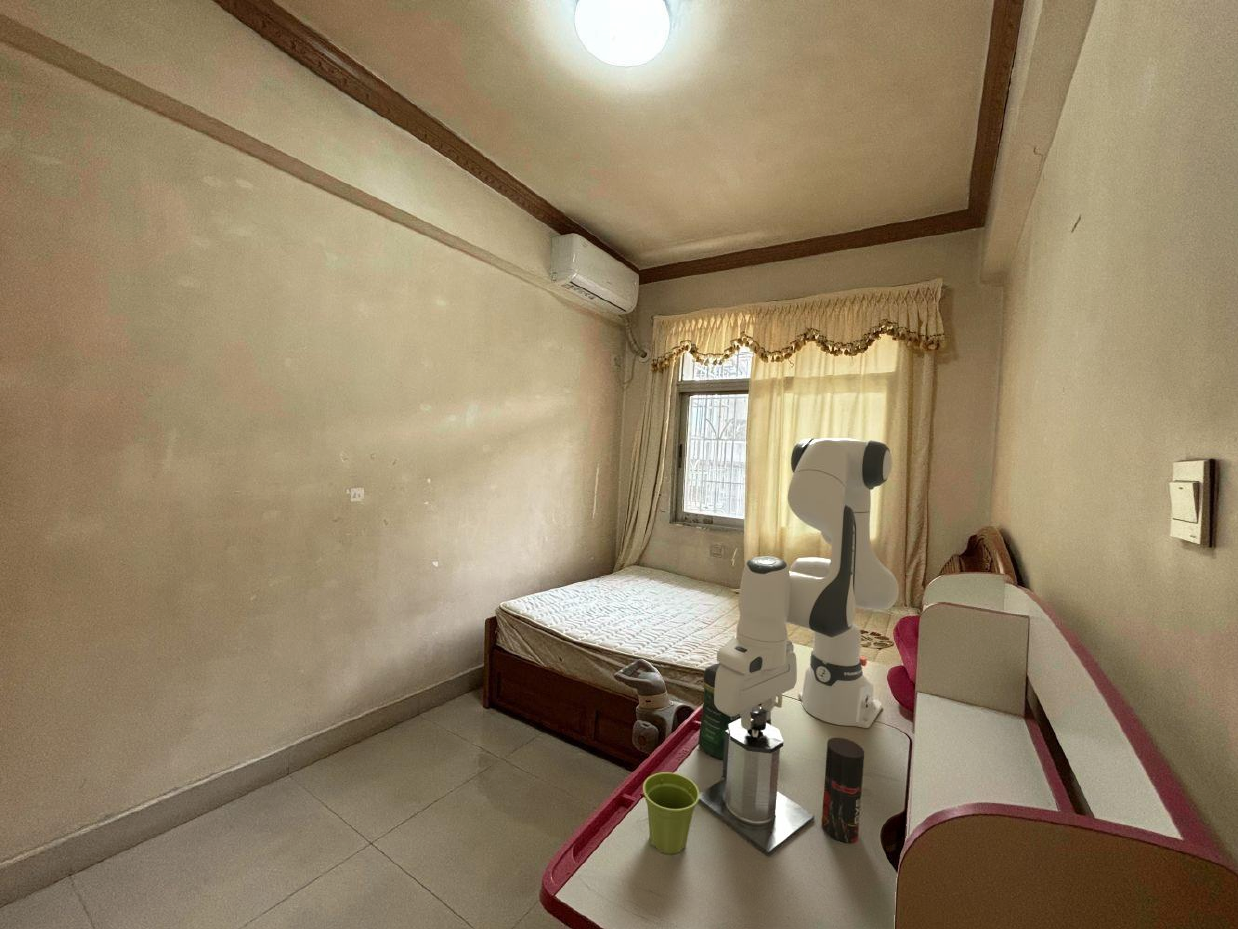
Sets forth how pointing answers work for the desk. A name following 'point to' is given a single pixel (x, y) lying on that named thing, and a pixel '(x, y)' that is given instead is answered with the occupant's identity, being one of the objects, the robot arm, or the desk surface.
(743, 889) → the desk surface
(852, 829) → the deodorant
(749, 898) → the desk surface
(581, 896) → the desk surface
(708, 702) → the coffee jar
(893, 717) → the desk surface
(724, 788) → the silver octagonal canister
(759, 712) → the domed grey knob
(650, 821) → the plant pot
